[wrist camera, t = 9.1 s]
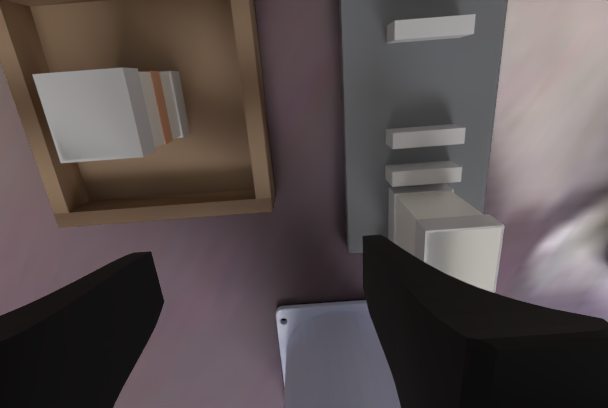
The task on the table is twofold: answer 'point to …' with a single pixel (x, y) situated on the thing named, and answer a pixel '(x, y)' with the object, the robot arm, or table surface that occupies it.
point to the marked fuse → (112, 112)
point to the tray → (145, 57)
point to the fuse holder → (416, 101)
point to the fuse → (446, 232)
